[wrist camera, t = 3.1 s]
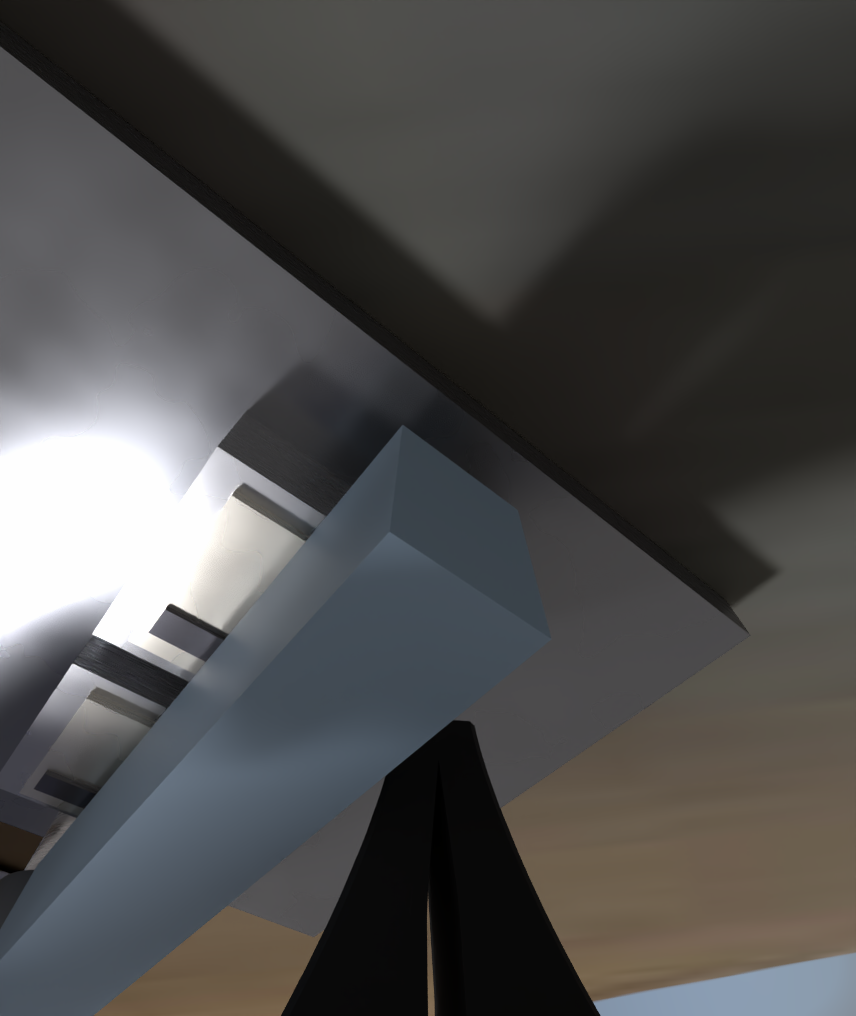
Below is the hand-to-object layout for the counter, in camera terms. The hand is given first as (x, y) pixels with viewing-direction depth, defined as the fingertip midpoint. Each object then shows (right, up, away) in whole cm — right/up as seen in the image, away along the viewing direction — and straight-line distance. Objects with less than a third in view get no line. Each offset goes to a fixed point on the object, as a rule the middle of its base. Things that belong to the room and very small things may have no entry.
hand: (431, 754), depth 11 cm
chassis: (-6, +1, +4) cm, 7 cm away
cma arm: (-5, -1, +1) cm, 5 cm away
